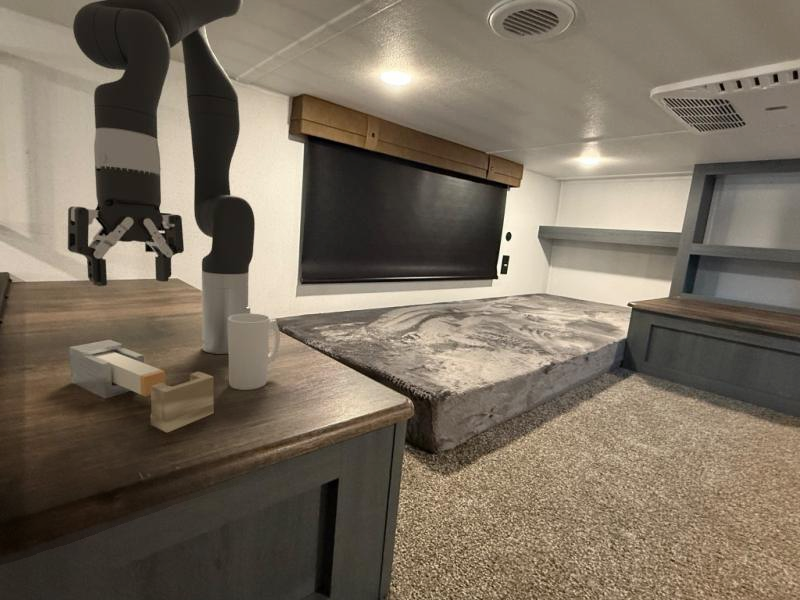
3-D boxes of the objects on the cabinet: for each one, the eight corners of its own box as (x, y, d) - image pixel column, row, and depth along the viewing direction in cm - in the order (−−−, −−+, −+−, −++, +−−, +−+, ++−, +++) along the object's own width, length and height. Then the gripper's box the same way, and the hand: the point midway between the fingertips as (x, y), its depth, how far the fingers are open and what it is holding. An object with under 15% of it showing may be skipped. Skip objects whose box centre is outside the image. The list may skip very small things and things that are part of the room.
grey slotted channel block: (71, 382, 64) (69, 347, 63) (111, 372, 69) (109, 339, 68) (105, 398, 59) (103, 360, 58) (144, 386, 64) (143, 351, 63)
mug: (242, 394, 65) (243, 324, 62) (219, 383, 68) (219, 316, 66) (290, 378, 73) (292, 316, 71) (267, 369, 76) (268, 309, 74)
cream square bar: (81, 368, 64) (80, 350, 64) (101, 363, 67) (100, 346, 67) (145, 396, 56) (144, 376, 56) (165, 389, 59) (165, 371, 59)
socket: (150, 424, 53) (149, 385, 52) (198, 406, 59) (197, 371, 58) (167, 432, 51) (166, 392, 50) (213, 413, 58) (213, 376, 57)
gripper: (163, 176, 62) (165, 277, 65) (52, 158, 50) (60, 283, 53) (193, 177, 59) (194, 283, 62) (82, 157, 46) (89, 291, 49)
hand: (132, 283), depth 57 cm, fingers open, 8 cm apart
